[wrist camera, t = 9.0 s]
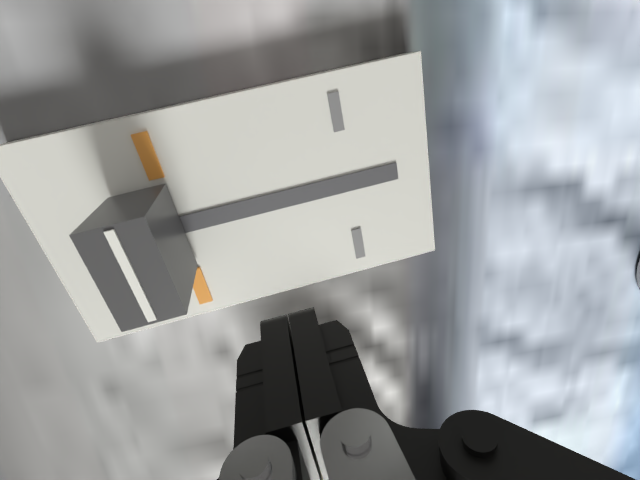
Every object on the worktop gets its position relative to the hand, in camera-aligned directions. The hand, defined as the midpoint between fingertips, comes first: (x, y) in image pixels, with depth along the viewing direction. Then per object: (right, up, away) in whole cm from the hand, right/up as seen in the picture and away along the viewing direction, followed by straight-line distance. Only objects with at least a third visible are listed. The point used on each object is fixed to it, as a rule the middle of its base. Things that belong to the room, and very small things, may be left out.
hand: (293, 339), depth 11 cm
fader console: (-4, +5, +13) cm, 14 cm away
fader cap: (-8, +3, +10) cm, 14 cm away
